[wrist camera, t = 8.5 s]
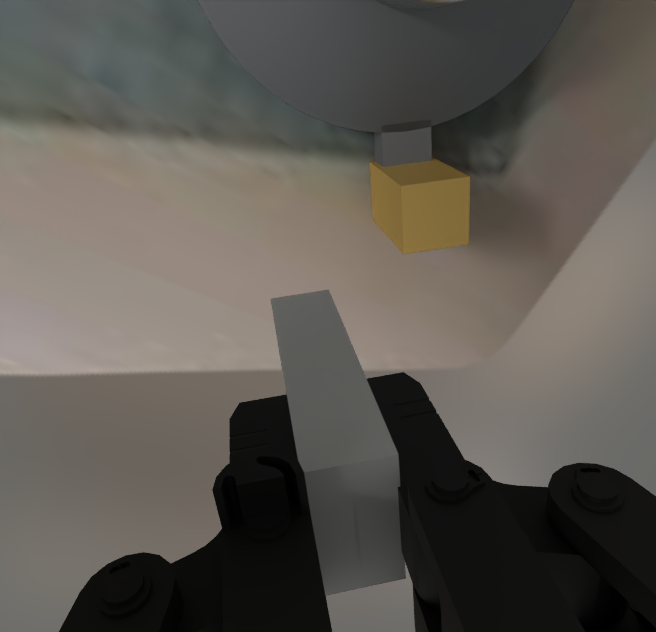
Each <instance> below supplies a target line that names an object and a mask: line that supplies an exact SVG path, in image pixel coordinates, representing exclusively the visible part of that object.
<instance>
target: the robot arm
mask: <svg viewBox="0 0 656 632" xmlns="http://www.w3.org/2000/svg"><path fill="white" fill-rule="evenodd" d="M271 304H272V310H273V317H274V323H275V329H276V335H277V341H278V347H279V354H280V360H281V366H282V372H283V378H284V384H285V390H286V395H281V396H276V397H270V398H265V399H259V400H253V401H247V402H242V403H239V405H238V406H237V408H236V410H235V411H234V413H233V415H232V416H231V418H230V464H228V465H227V466H226V467H225V468H224V469H223V470H222V471H221V472H220V473H219V475H218V476H217V477H216V480H215V483H214V487H213V494H214V498H215V501H216V505H217V510H218V514H219V517H220V521H221V525H222V530H221V531H220V532H219V533H218V535H217V536H216V537H215V538H214V539H213V540H211V541H210V542H209V543H208V544H207V545H206V546H204V547H202V548H201V549H199V550H197V551H196V552H194V553H192V554H190V555H188V556H186V557H184V558H182V559H180V560H178V561H175V562H173V563H171V564H170V563H169V562H168V561H166V560H165V559H164V558H162V557H161V556H160V555H156V554H150V553H138V554H132V555H126V556H124V557H122V558H119V559H117V560H115V561H113V562H111V563H109V564H107V565H106V566H105V567H103V568H102V569H101V570H99V571H98V572H97V573H96V574H95V575H93V576H92V577H91V578H90V580H89V581H88V582H87V584H86V585H85V586H84V588H83V589H82V590H81V592H80V593H79V595H78V597H77V599H76V601H75V603H74V605H73V606H72V608H71V610H70V612H69V614H68V616H67V618H66V620H65V621H64V623H63V625H62V627H61V629H60V631H59V632H332V629H331V623H330V618H329V613H328V608H327V601H326V595H331V594H335V593H340V592H345V591H349V590H354V589H358V588H363V587H367V586H373V585H377V584H382V583H387V582H391V581H396V580H400V579H405V578H406V576H405V562H406V565H407V568H408V571H409V574H410V577H411V580H412V582H413V599H414V619H415V630H416V632H422V631H423V632H656V496H654V495H653V494H652V493H650V492H649V491H648V490H646V489H645V488H643V487H642V486H641V485H639V484H638V483H637V482H635V481H634V480H633V479H631V478H629V477H627V476H626V475H624V474H622V473H620V472H619V471H617V470H615V469H613V468H609V467H605V466H602V465H598V464H590V463H576V464H572V465H568V466H563V467H562V468H560V469H559V470H558V471H556V472H555V473H553V475H552V477H551V480H550V482H549V485H548V487H532V486H516V485H508V484H503V483H499V482H496V481H493V480H492V479H491V478H490V476H489V475H488V474H487V473H486V472H485V471H484V470H483V469H482V468H481V467H479V466H477V465H475V464H473V463H471V462H469V461H467V460H465V459H464V458H463V456H462V454H461V452H460V451H459V449H458V447H457V446H456V444H455V442H454V441H453V439H452V437H451V435H450V434H449V432H448V430H447V429H446V427H445V425H444V423H443V422H442V420H441V418H440V416H439V415H438V414H437V413H436V410H435V408H434V406H433V404H432V403H431V401H429V397H428V396H427V394H426V392H425V391H424V389H423V387H422V385H421V384H420V383H419V382H417V381H416V380H414V379H413V378H411V377H410V376H408V375H407V374H405V373H404V372H402V373H397V374H391V375H385V376H380V377H374V378H368V379H366V377H365V374H364V372H363V370H362V367H361V365H360V362H359V360H358V358H357V355H356V353H355V351H354V348H353V346H352V344H351V341H350V339H349V337H348V334H347V332H346V329H345V327H344V325H343V322H342V320H341V318H340V315H339V313H338V311H337V308H336V306H335V304H334V301H333V299H332V296H331V294H330V292H329V290H323V291H317V292H310V293H304V294H298V295H292V296H285V297H279V298H273V299H271Z"/></svg>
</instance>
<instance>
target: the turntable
mask: <svg viewBox="0 0 656 632" xmlns="http://www.w3.org/2000/svg"><path fill="white" fill-rule="evenodd" d="M198 1H199V3H200V5H201V8H202V10H203V12H204V14H205V16H206V17H207V19H208V21H209V22H210V24H211V25H212V27H213V28H214V30H215V32H216V33H217V35H218V36H219V38H220V39H221V41H222V43H223V44H224V45H225V46H226V48H227V49H228V50H229V51H230V52H231V54H232V55H233V56H234V57H235V59H236V60H237V61H238V62H239V63H240V65H241V66H242V67H243V68H244V69H245V70H246V71H247V72H248V73H250V74H251V75H252V76H253V77H254V78H255V79H256V80H257V81H258V82H259V83H260V84H261V85H262V86H263V87H264V88H266V89H267V90H269V91H270V92H271V93H273V94H274V95H275V96H277V97H278V98H279V99H281V100H282V101H283V102H285V103H286V104H288V105H290V106H292V107H294V108H295V109H297V110H299V111H301V112H303V113H305V114H306V115H308V116H310V117H313V118H316V119H318V120H321V121H323V122H326V123H329V124H331V125H334V126H339V127H343V128H348V129H352V130H356V131H366V132H374V145H375V161H373V162H370V176H371V192H372V208H373V220H374V221H375V222H376V223H377V225H378V226H379V227H380V228H381V229H382V230H383V231H384V233H385V234H386V235H387V236H388V237H389V238H390V239H391V240H392V242H393V243H394V244H395V245H396V246H397V247H398V248H399V250H400V251H401V252H402V253H403V254H409V253H415V252H422V251H429V250H435V249H442V248H448V247H455V246H461V245H468V244H469V217H470V176H468V175H466V174H464V173H462V172H460V171H458V170H457V169H455V168H453V167H451V166H449V165H447V164H445V163H443V162H441V161H439V160H437V159H435V158H433V157H432V142H431V126H434V125H437V124H440V123H443V122H446V121H449V120H452V119H454V118H456V117H458V116H461V115H463V114H465V113H467V112H469V111H471V110H473V109H475V108H477V107H478V106H480V105H481V104H483V103H484V102H486V101H487V100H489V99H490V98H492V97H493V96H495V95H496V94H498V93H499V92H500V91H502V90H503V89H504V88H505V87H506V86H507V85H509V84H510V83H511V82H512V81H513V80H514V79H516V78H517V77H518V76H519V75H520V74H521V73H522V72H523V71H524V70H525V69H526V68H527V67H528V66H529V64H530V63H531V62H532V61H533V60H534V59H535V58H536V57H537V56H538V55H539V54H540V52H541V51H542V50H543V48H544V47H545V46H546V44H547V43H548V42H549V40H550V39H551V38H552V36H553V35H554V34H555V32H556V31H557V29H558V27H559V26H560V24H561V22H562V21H563V19H564V17H565V16H566V14H567V12H568V11H569V9H570V7H571V6H572V4H573V1H574V0H465V1H461V2H456V3H452V4H447V5H443V6H438V7H434V8H428V9H422V10H403V9H396V8H393V7H389V6H386V5H383V4H381V3H379V2H377V1H375V0H198Z"/></svg>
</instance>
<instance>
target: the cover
mask: <svg viewBox="0 0 656 632" xmlns="http://www.w3.org/2000/svg"><path fill="white" fill-rule="evenodd" d="M375 1H377V2H379V3H381V4H383V5H386V6H389V7H393V8H396V9H403V10H422V9H428V8H434V7H438V6H443V5H447V4H452V3H456V2H461V1H465V0H375Z"/></svg>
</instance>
